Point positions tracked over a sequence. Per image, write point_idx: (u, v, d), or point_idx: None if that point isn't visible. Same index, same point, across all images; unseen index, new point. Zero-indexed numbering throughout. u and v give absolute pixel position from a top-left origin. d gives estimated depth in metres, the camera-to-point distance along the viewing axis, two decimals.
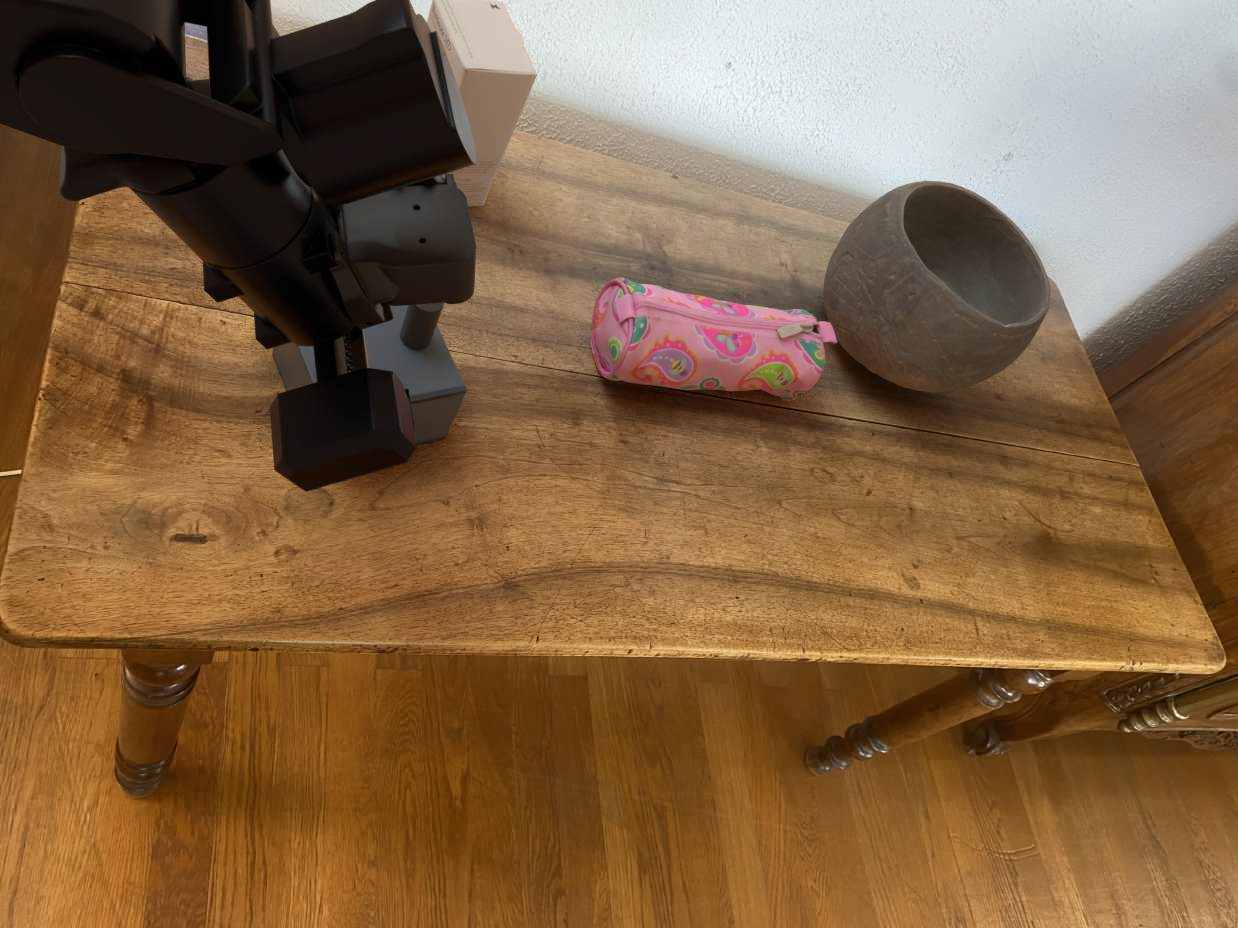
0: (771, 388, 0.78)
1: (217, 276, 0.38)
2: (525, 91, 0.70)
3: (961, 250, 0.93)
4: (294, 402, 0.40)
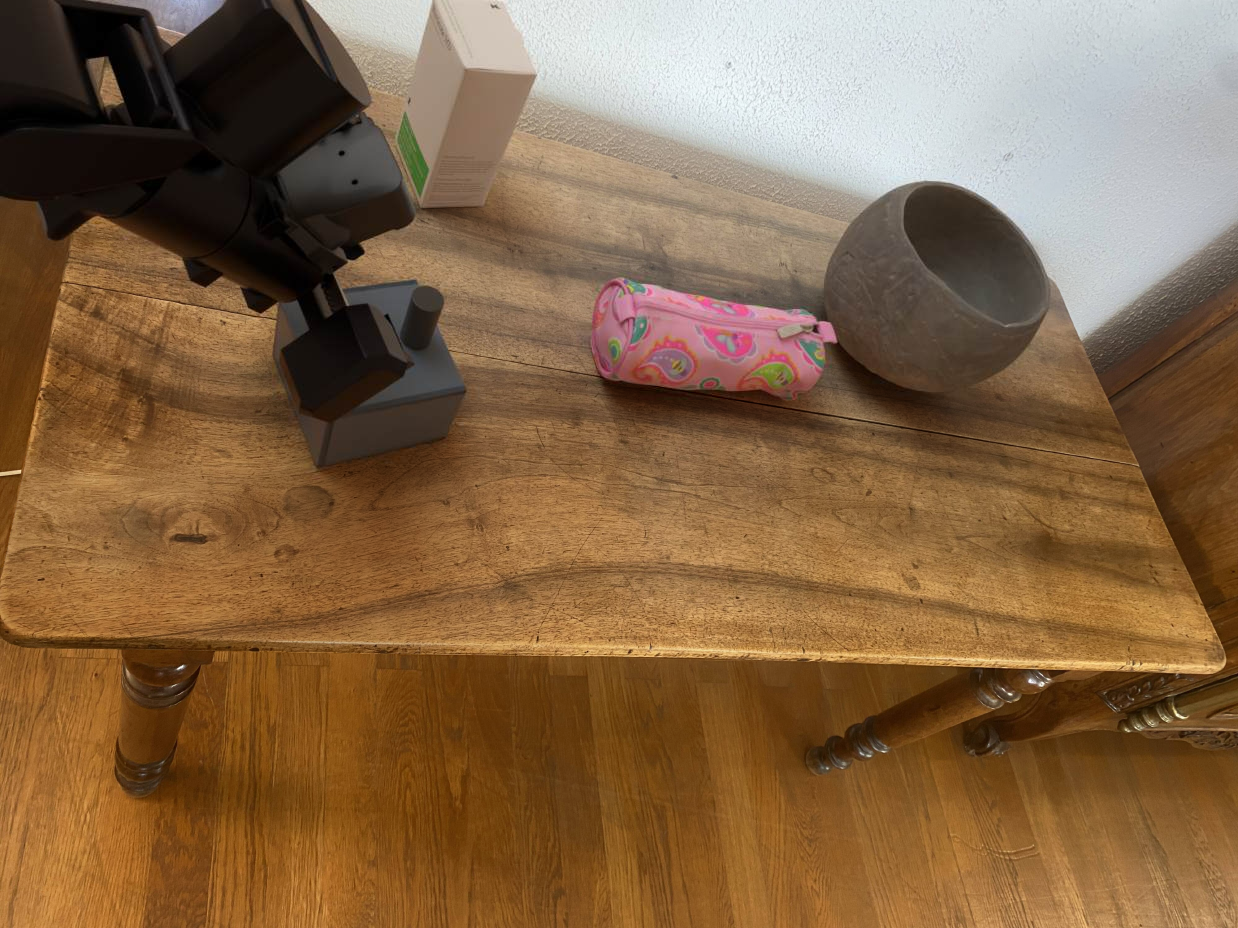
0: (771, 388, 0.78)
1: (197, 265, 0.44)
2: (525, 91, 0.70)
3: (961, 250, 0.93)
4: (296, 352, 0.47)
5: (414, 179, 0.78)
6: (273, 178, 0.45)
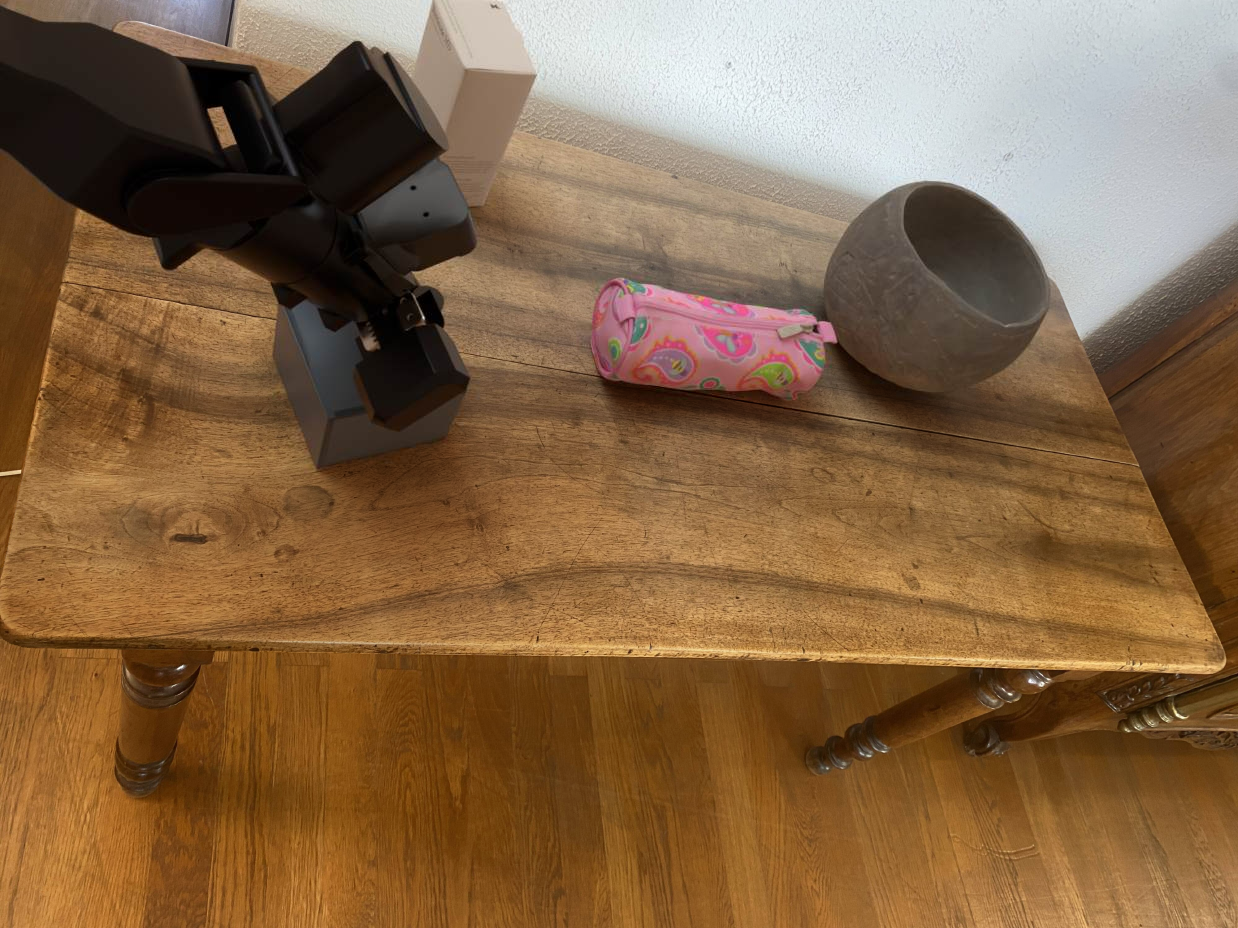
0: (771, 388, 0.78)
1: (284, 290, 0.49)
2: (525, 91, 0.70)
3: (961, 250, 0.93)
4: (369, 368, 0.51)
5: None
6: None
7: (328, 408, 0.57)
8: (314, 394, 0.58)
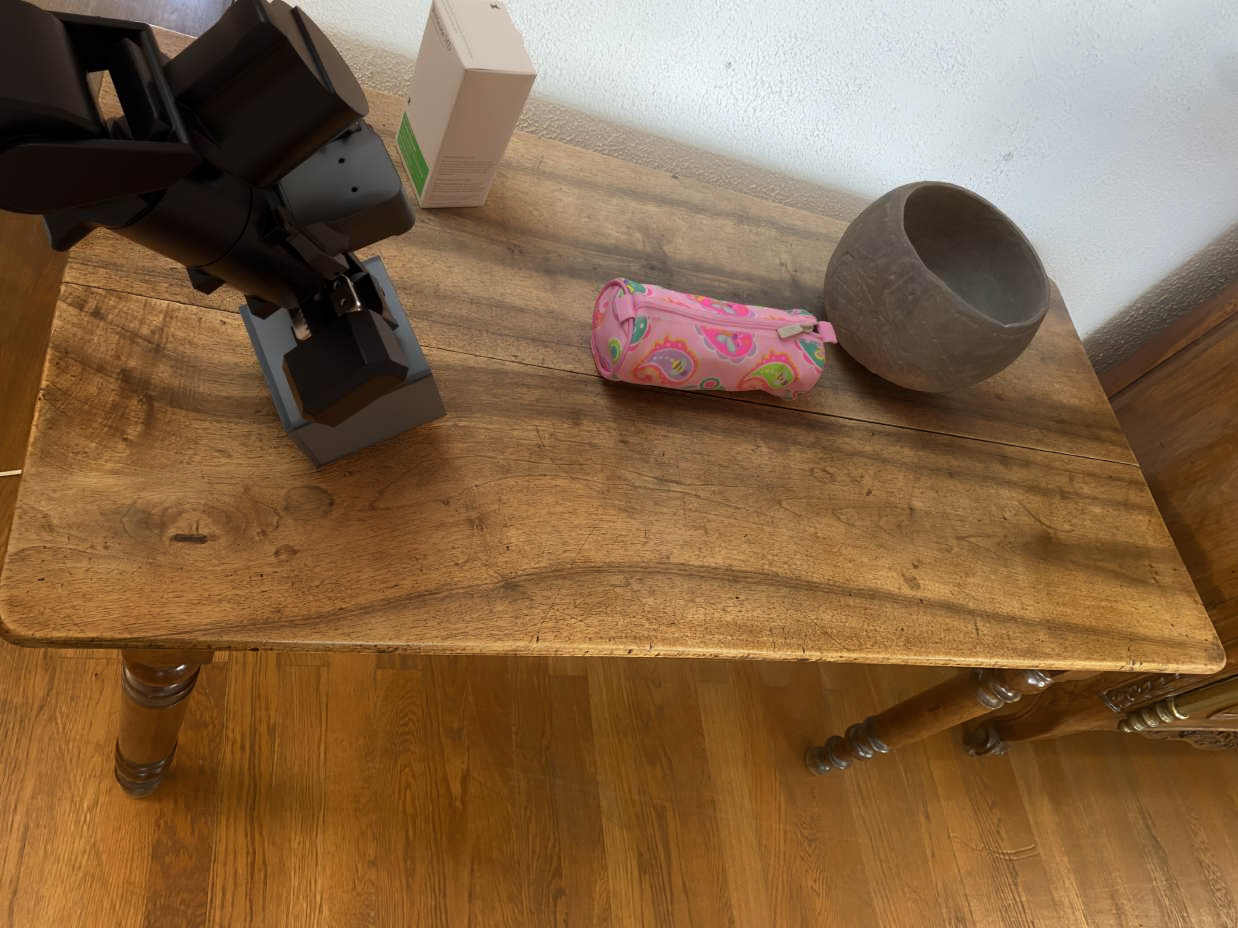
0: (771, 388, 0.78)
1: (199, 274, 0.44)
2: (525, 91, 0.70)
3: (961, 250, 0.93)
4: (298, 358, 0.47)
5: (414, 179, 0.78)
6: (274, 186, 0.45)
7: (285, 420, 0.56)
8: None
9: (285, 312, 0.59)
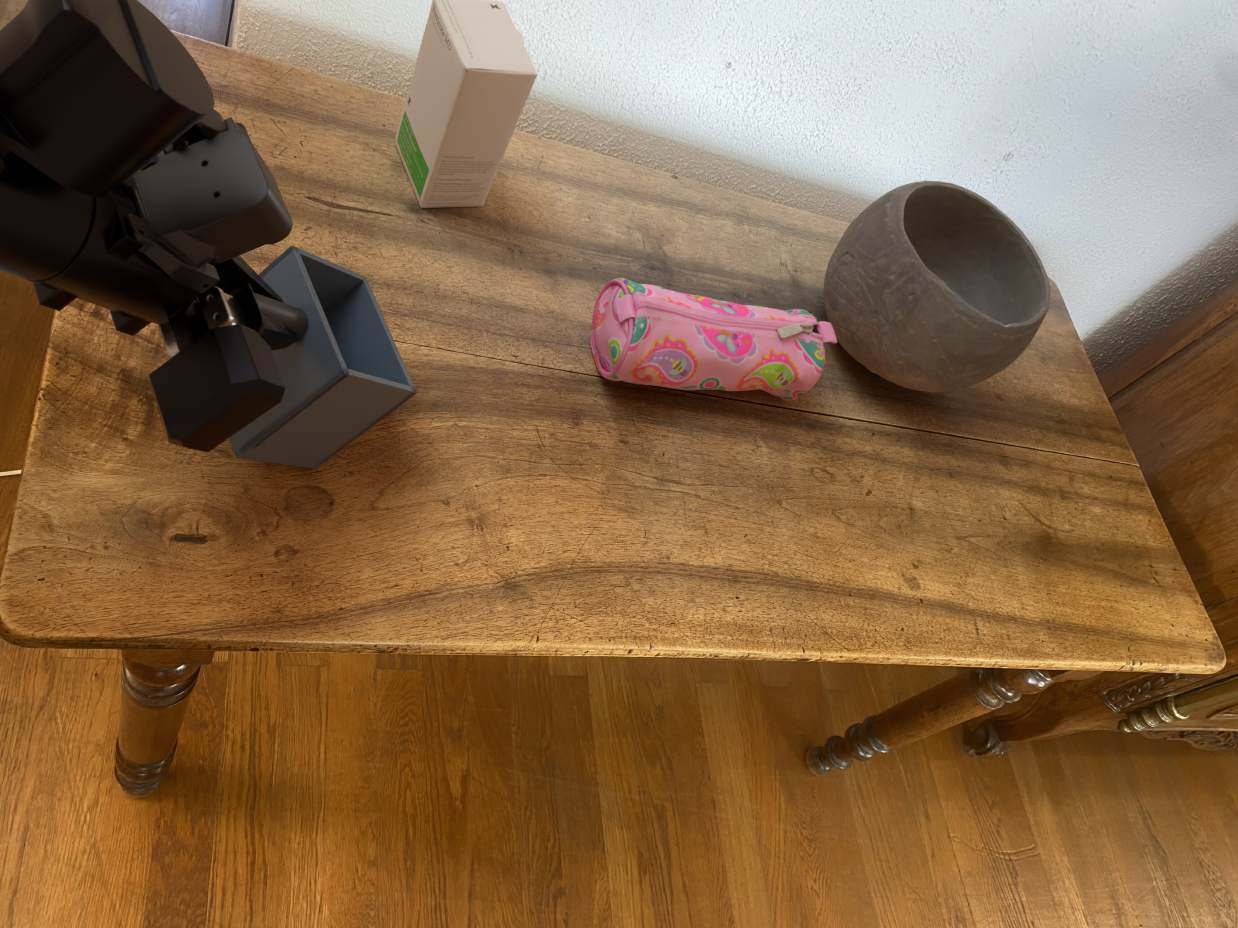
0: (771, 388, 0.78)
1: (46, 288, 0.41)
2: (525, 91, 0.70)
3: (961, 250, 0.93)
4: (163, 378, 0.44)
5: (414, 179, 0.78)
6: (130, 192, 0.42)
7: (235, 446, 0.56)
8: None
9: None
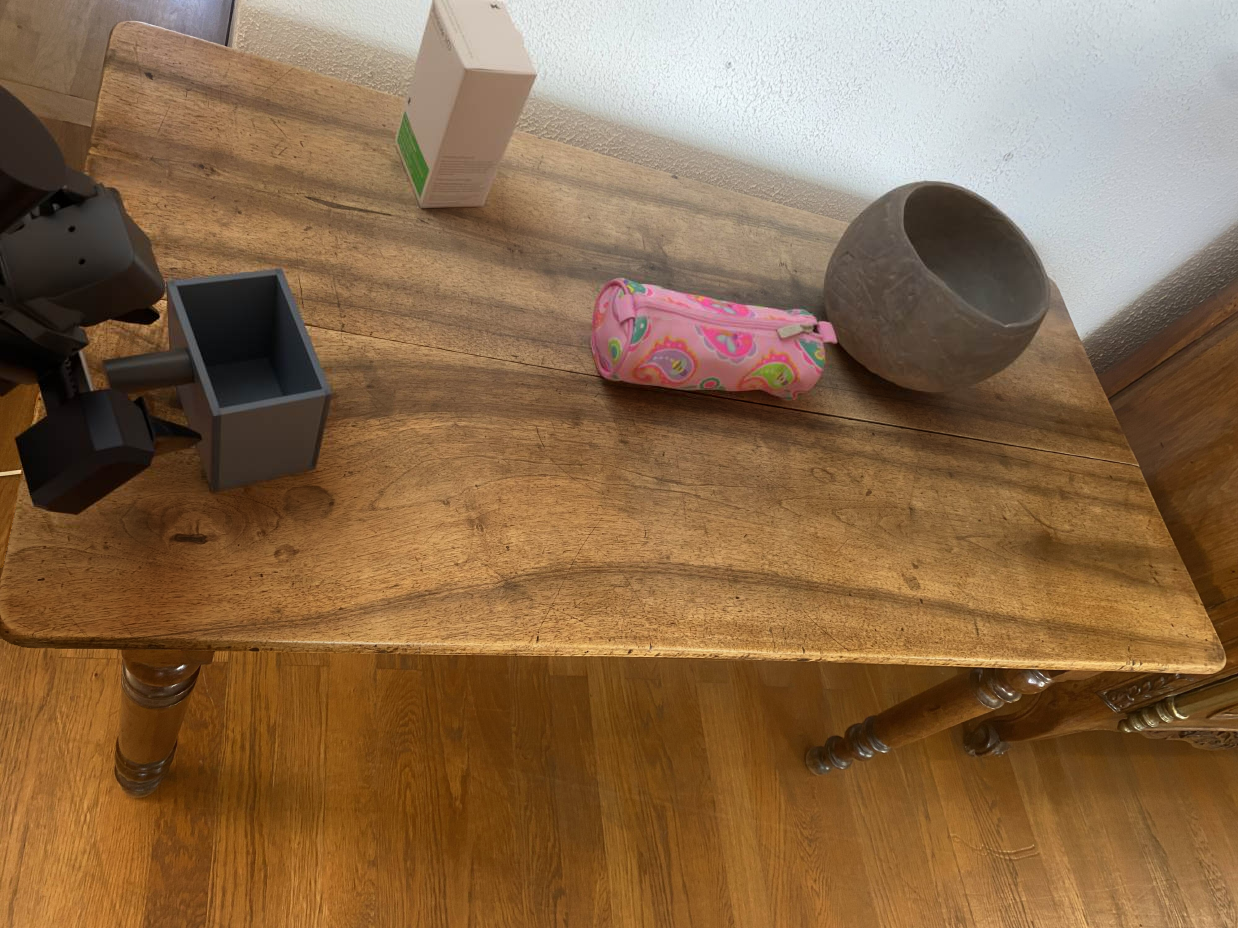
0: (771, 388, 0.78)
1: None
2: (525, 91, 0.70)
3: (961, 250, 0.93)
4: (28, 442, 0.43)
5: (414, 179, 0.78)
6: None
7: (208, 482, 0.59)
8: None
9: None
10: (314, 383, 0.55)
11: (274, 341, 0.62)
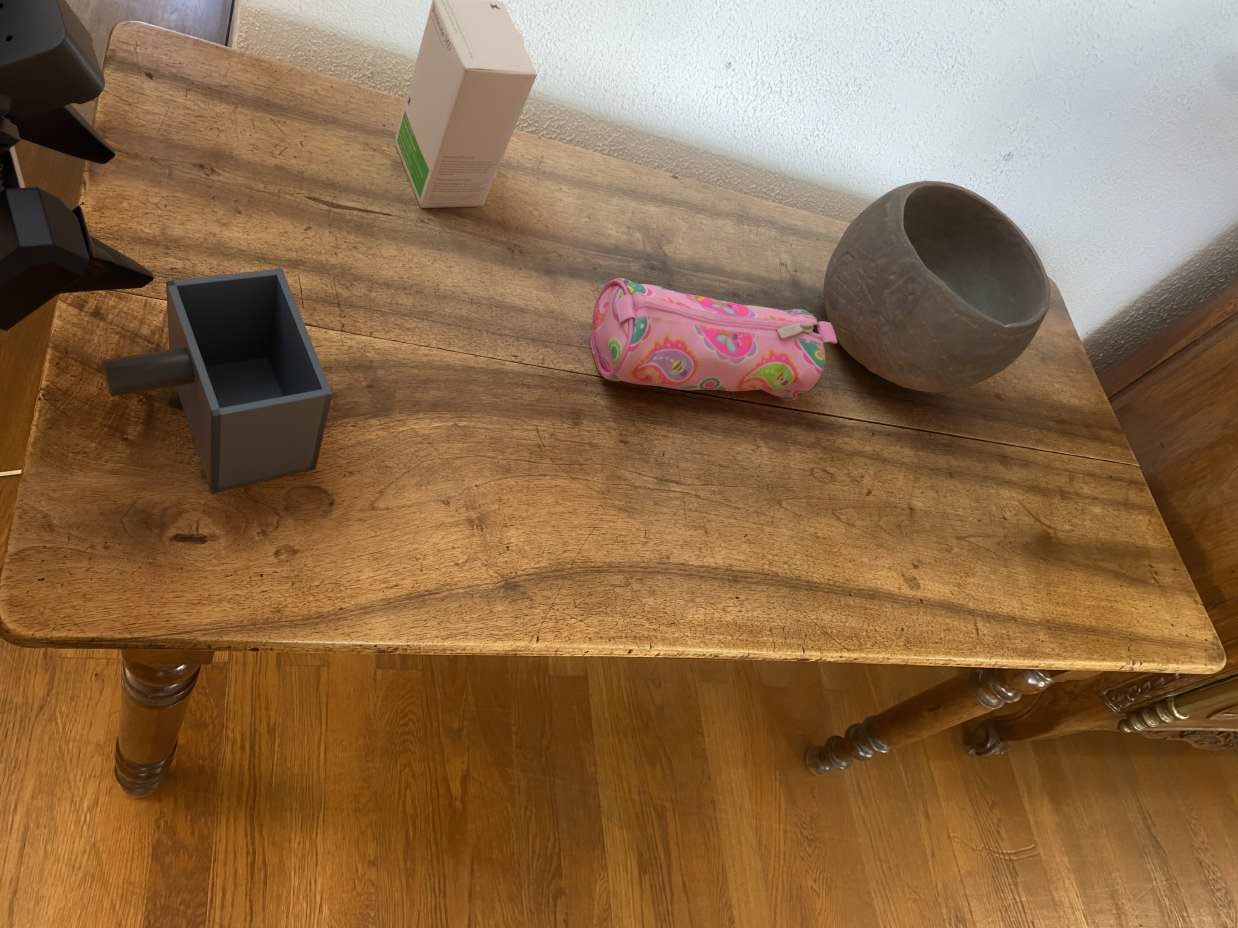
0: (771, 388, 0.78)
1: None
2: (525, 91, 0.70)
3: (961, 250, 0.93)
4: None
5: (414, 179, 0.78)
6: None
7: (208, 482, 0.59)
8: None
9: None
10: (314, 383, 0.55)
11: (274, 341, 0.62)
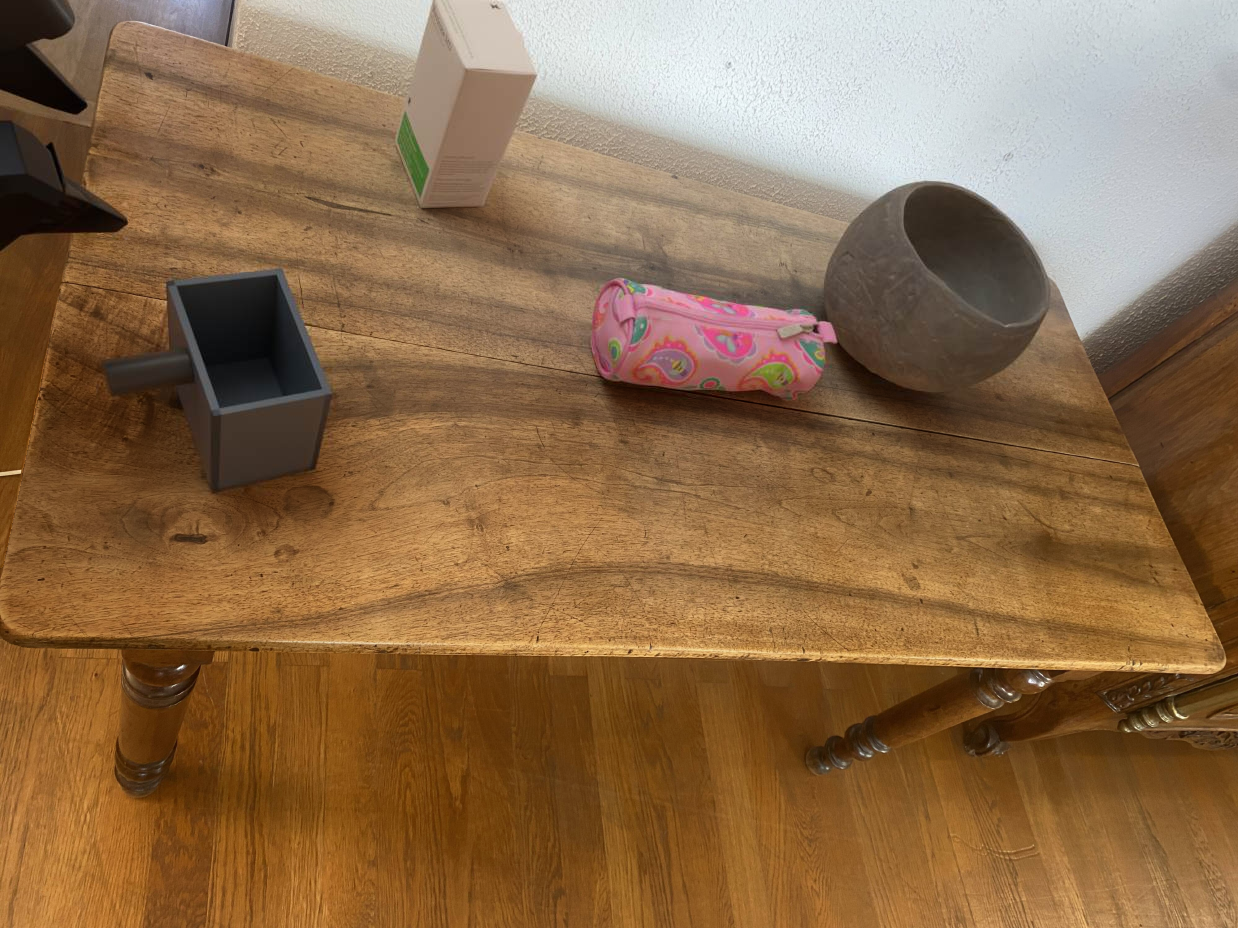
0: (771, 388, 0.78)
1: None
2: (525, 91, 0.70)
3: (961, 250, 0.93)
4: None
5: (414, 179, 0.78)
6: None
7: (208, 482, 0.59)
8: None
9: None
10: (314, 383, 0.55)
11: (274, 341, 0.62)
